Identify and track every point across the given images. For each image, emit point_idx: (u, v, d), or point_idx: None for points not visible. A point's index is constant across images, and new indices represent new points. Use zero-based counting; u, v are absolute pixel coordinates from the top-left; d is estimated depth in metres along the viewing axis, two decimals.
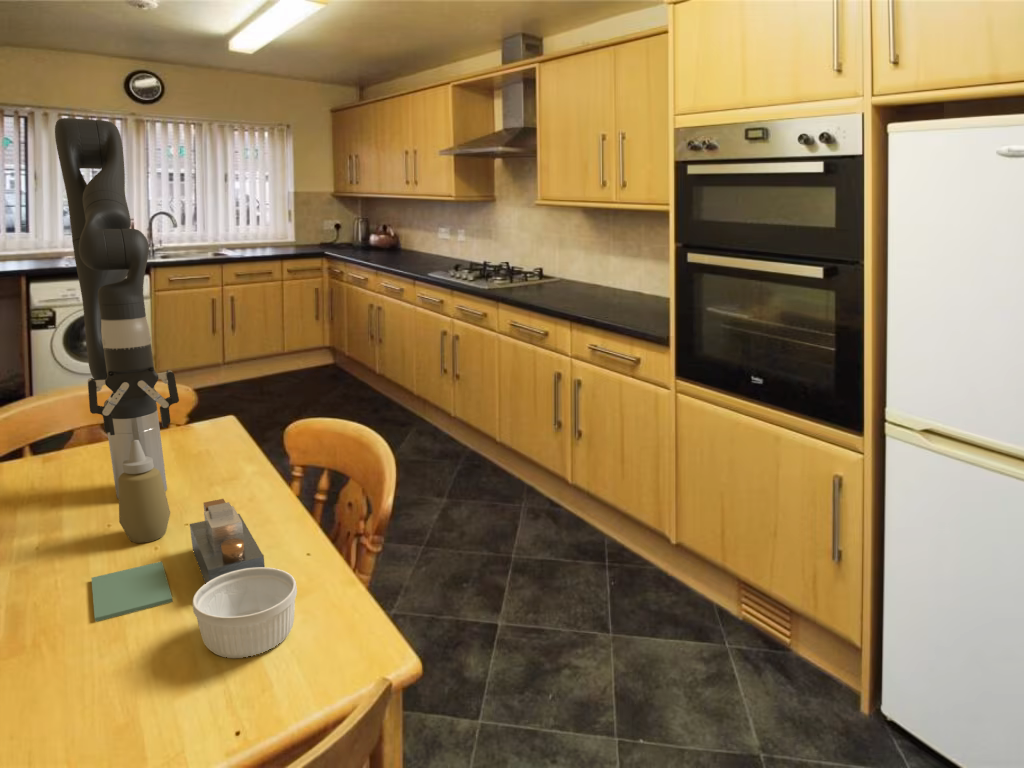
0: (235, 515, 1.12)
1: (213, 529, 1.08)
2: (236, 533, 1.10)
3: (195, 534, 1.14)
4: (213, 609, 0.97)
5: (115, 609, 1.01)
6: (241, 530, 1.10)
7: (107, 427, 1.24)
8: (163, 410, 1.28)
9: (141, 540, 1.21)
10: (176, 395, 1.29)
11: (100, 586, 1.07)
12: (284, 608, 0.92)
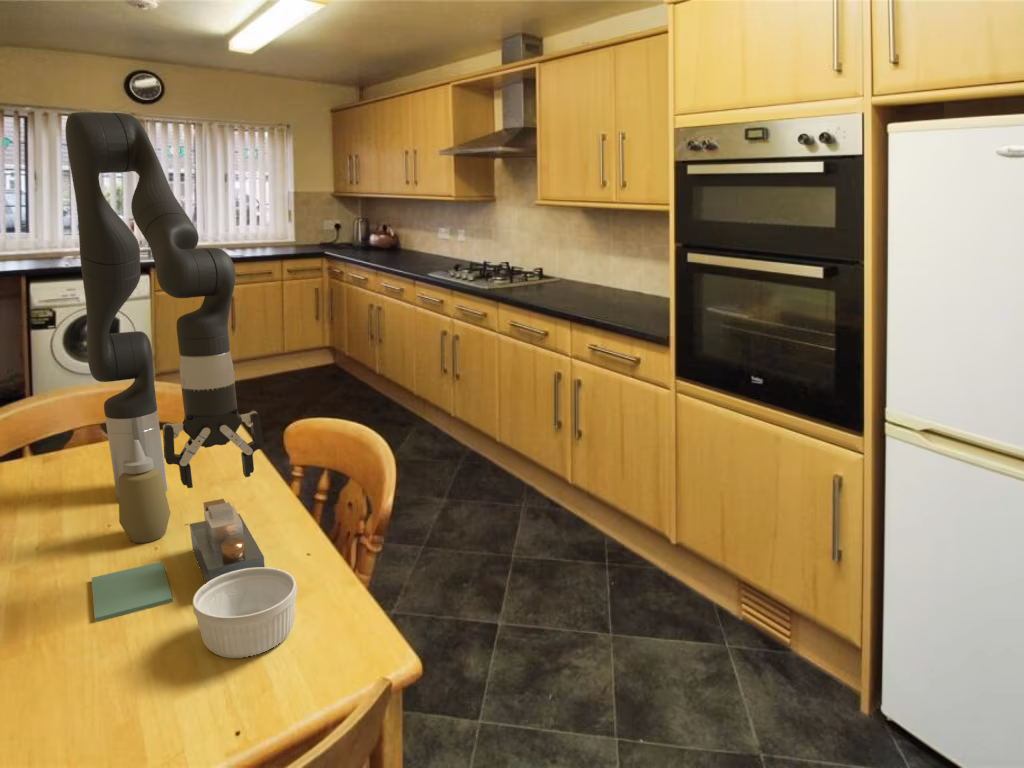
0: (235, 515, 1.12)
1: (213, 529, 1.08)
2: (236, 533, 1.10)
3: (195, 534, 1.14)
4: (213, 609, 0.97)
5: (115, 609, 1.01)
6: (241, 530, 1.10)
7: (184, 479, 1.07)
8: (246, 457, 1.11)
9: (141, 540, 1.21)
10: (261, 440, 1.11)
11: (100, 586, 1.07)
12: (284, 608, 0.92)
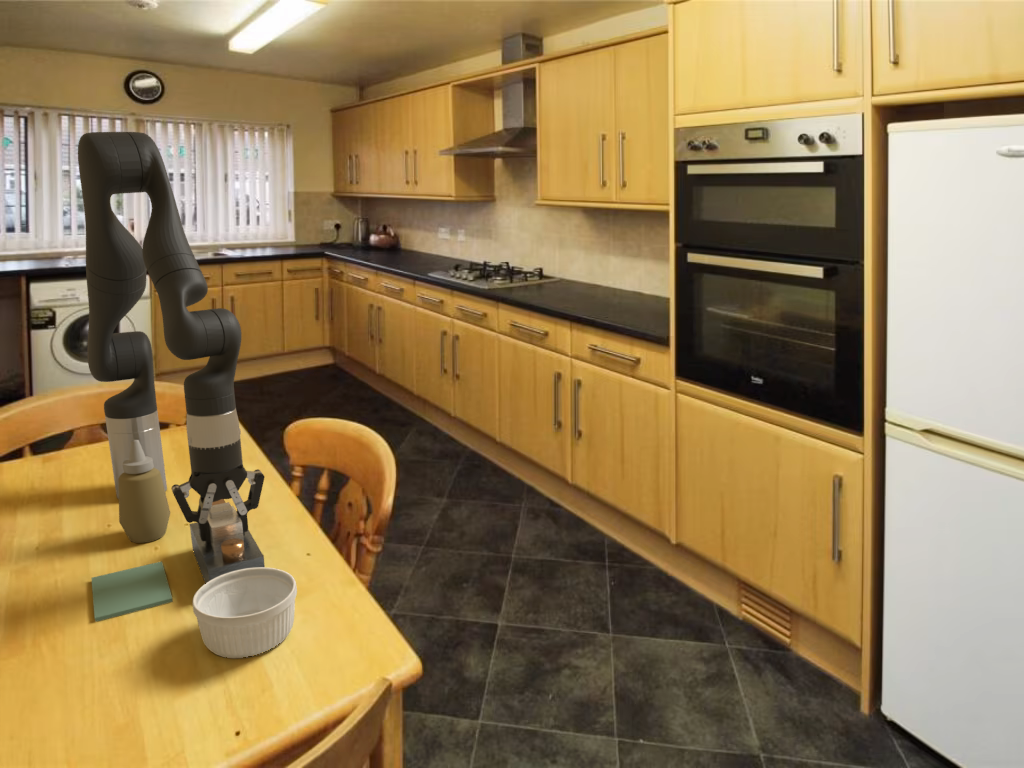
0: (235, 515, 1.12)
1: (213, 529, 1.08)
2: (236, 533, 1.10)
3: (195, 534, 1.14)
4: (213, 609, 0.97)
5: (115, 609, 1.01)
6: (241, 530, 1.10)
7: (203, 535, 1.10)
8: (241, 517, 1.12)
9: (141, 540, 1.21)
10: (257, 500, 1.13)
11: (100, 586, 1.07)
12: (284, 608, 0.92)
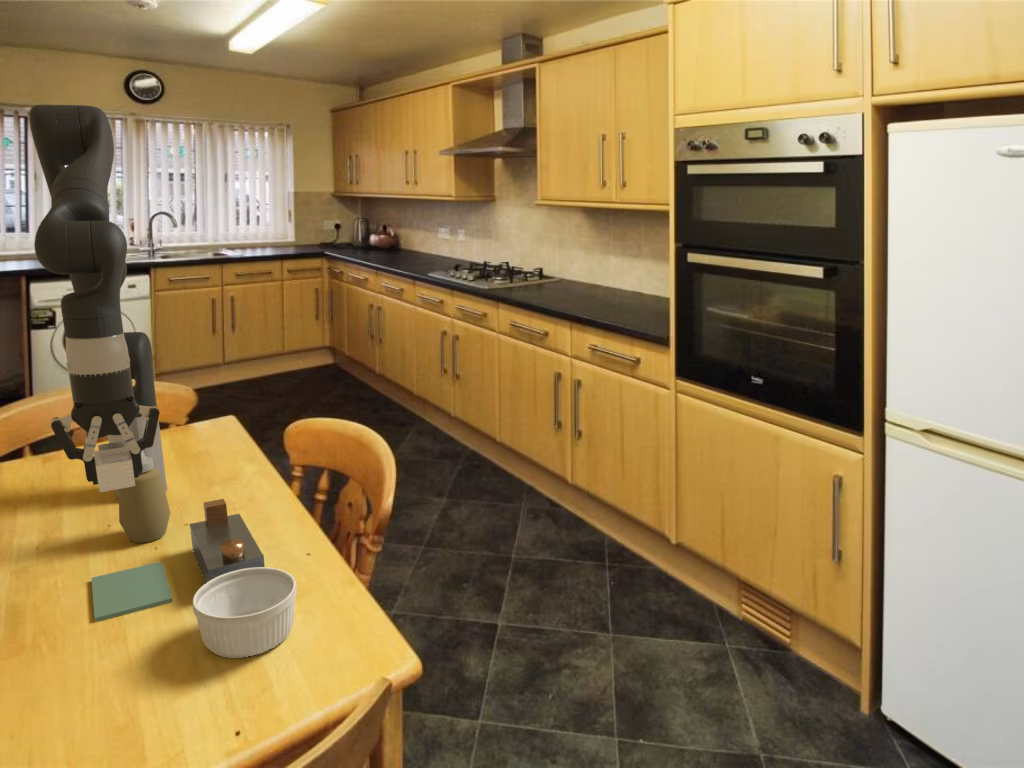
0: (127, 454, 1.02)
1: (97, 467, 0.97)
2: (125, 473, 0.99)
3: (195, 534, 1.14)
4: (213, 609, 0.97)
5: (115, 609, 1.01)
6: (131, 469, 1.00)
7: (89, 475, 1.00)
8: (133, 457, 1.02)
9: (141, 540, 1.21)
10: (152, 438, 1.03)
11: (100, 586, 1.07)
12: (284, 608, 0.92)
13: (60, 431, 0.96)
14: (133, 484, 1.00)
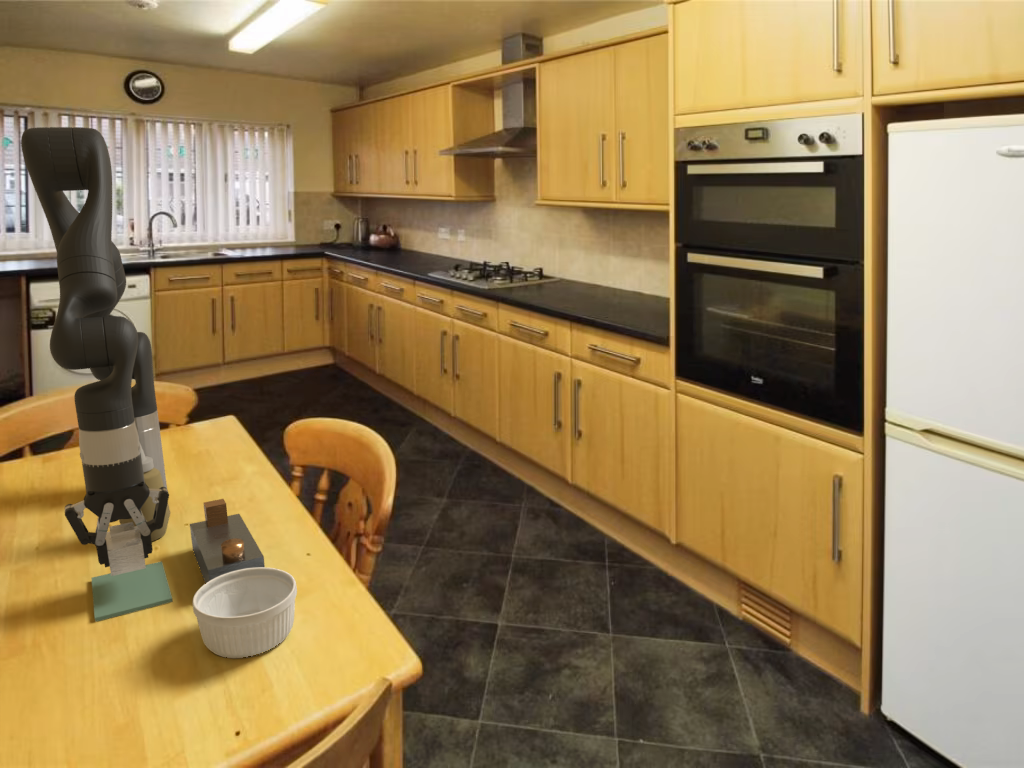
0: (137, 536, 1.05)
1: (109, 552, 1.00)
2: (136, 556, 1.03)
3: (195, 534, 1.14)
4: (213, 609, 0.97)
5: (115, 609, 1.01)
6: (142, 553, 1.03)
7: (101, 558, 1.03)
8: (143, 538, 1.05)
9: None
10: (161, 520, 1.06)
11: (100, 586, 1.07)
12: (284, 608, 0.92)
13: (73, 518, 0.99)
14: (143, 566, 1.03)
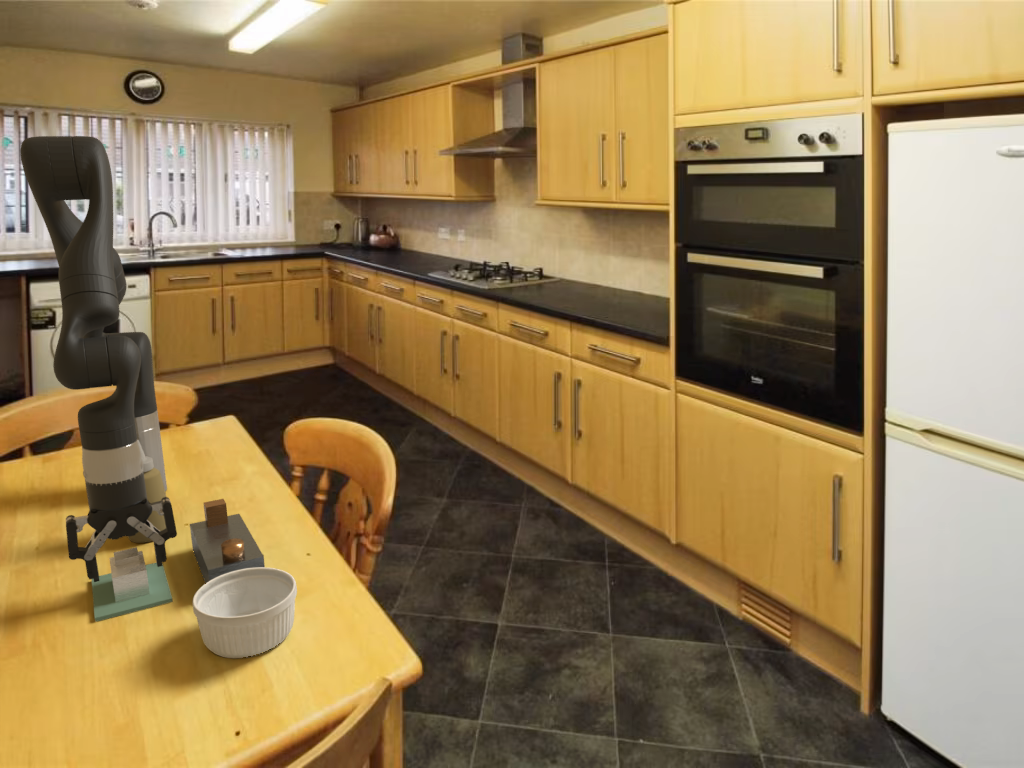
0: (141, 562, 1.06)
1: (114, 579, 1.02)
2: (140, 582, 1.04)
3: (195, 534, 1.14)
4: (213, 609, 0.97)
5: (115, 609, 1.01)
6: (146, 579, 1.04)
7: (90, 573, 1.02)
8: (158, 547, 1.06)
9: (141, 540, 1.21)
10: (174, 529, 1.07)
11: (100, 586, 1.07)
12: (284, 608, 0.92)
13: (72, 531, 0.99)
14: (147, 592, 1.05)
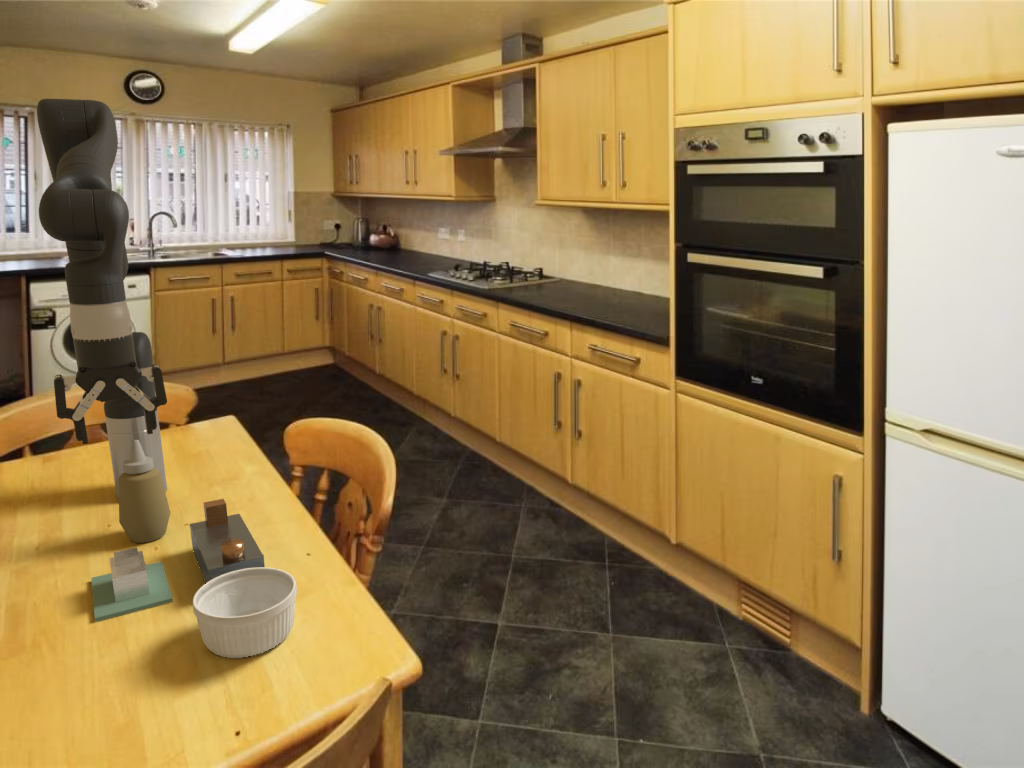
0: (141, 562, 1.06)
1: (114, 579, 1.02)
2: (140, 582, 1.04)
3: (195, 534, 1.14)
4: (213, 609, 0.97)
5: (115, 609, 1.01)
6: (146, 579, 1.04)
7: (79, 434, 1.02)
8: (148, 413, 1.06)
9: (141, 540, 1.21)
10: (164, 395, 1.06)
11: (100, 586, 1.07)
12: (284, 608, 0.92)
13: (60, 388, 0.98)
14: (147, 592, 1.05)
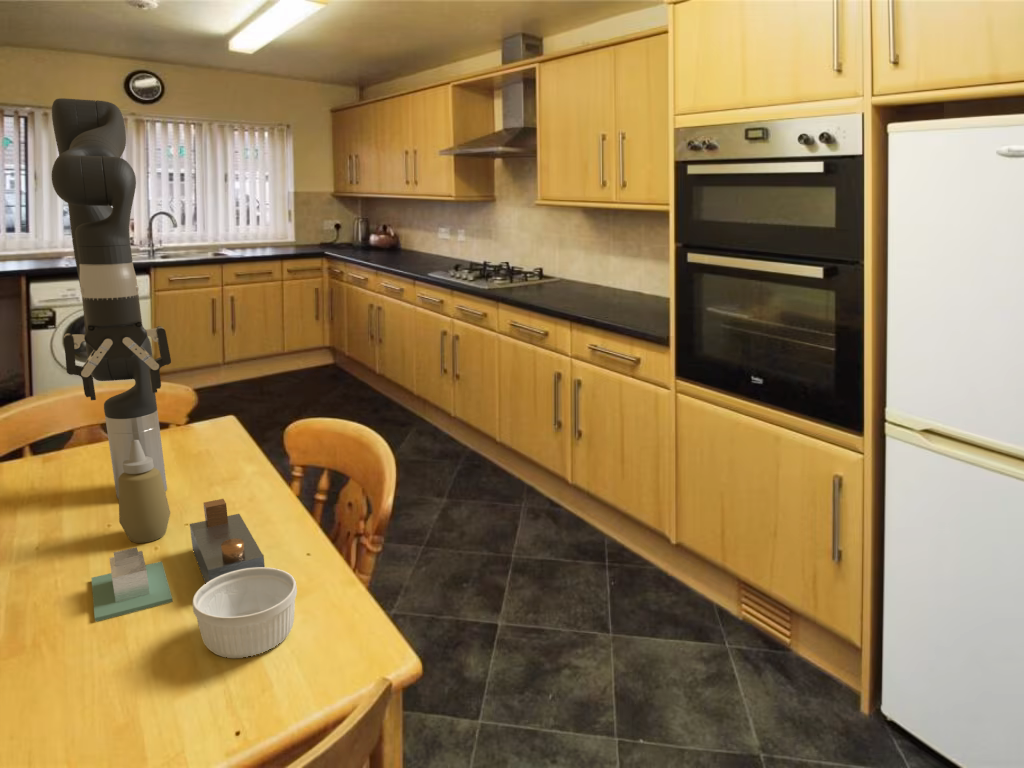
0: (141, 562, 1.06)
1: (114, 579, 1.02)
2: (140, 582, 1.04)
3: (195, 534, 1.14)
4: (213, 609, 0.97)
5: (115, 609, 1.01)
6: (146, 579, 1.04)
7: (87, 391, 1.07)
8: (153, 372, 1.11)
9: (141, 540, 1.21)
10: (168, 355, 1.11)
11: (100, 586, 1.07)
12: (284, 608, 0.92)
13: (70, 345, 1.04)
14: (147, 592, 1.05)
